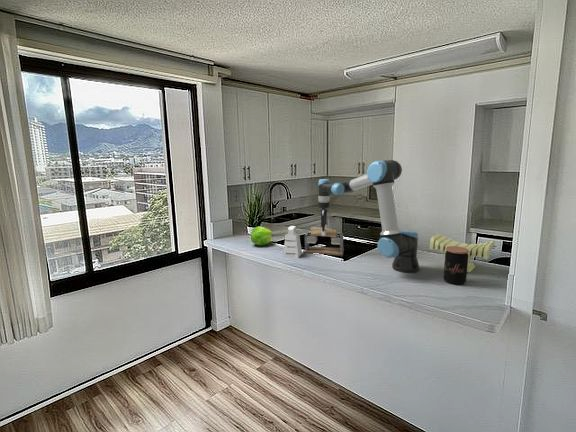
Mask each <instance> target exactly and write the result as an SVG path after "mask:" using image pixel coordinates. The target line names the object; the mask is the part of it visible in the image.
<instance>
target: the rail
mask: <svg viewBox="0 0 576 432" xmlns="http://www.w3.org/2000/svg"><path fill="white" fill-rule="evenodd" d="M310 234H311V235H314V236H317V237H322V236H321V227H316V226H311V227H310ZM337 235H338V228H333V227H332V228H331V227H326V234H325V236H324V237H327V238H328V237H329V238H331V237H336V236H337Z"/></svg>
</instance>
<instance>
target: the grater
mask: <svg viewBox="0 0 576 432" xmlns="http://www.w3.org/2000/svg"><path fill="white" fill-rule="evenodd" d="M302 254H303V251H302V244H301V237H300V232H299V231H297V226H296V225H290V226H288V228H287V232H286V233H285V236H284V245H283V255H282V258H288V257H289V259H290V258H291V259H292V258H293V259H299V258H300V256H301V255H302Z"/></svg>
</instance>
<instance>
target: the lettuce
mask: <svg viewBox="0 0 576 432" xmlns="http://www.w3.org/2000/svg"><path fill="white" fill-rule="evenodd" d="M272 236H273V232H272V230H270V229H269V228H268V227H264V226H261V225H260V226H259V225H258V226H256V227H254V228H253V229H252V231H251V233H250V241H251V243H253V244H254V245H257V246H266V245H267V244H269V243H271V240H272Z"/></svg>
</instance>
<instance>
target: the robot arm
mask: <svg viewBox="0 0 576 432" xmlns="http://www.w3.org/2000/svg"><path fill="white" fill-rule="evenodd" d="M402 172H403V167H402V165H401V163H399V161H396V160H394V159H393V160H392V159H389V160H385V159H383V160H382V159H380V160H375V161H373V162H372V163H370V164H369V166H368V168H367V171H366V174H363V175H361V176H357V177H356V178H353V179H350V180H346V181H341V182H331V180H330V179H329V178H322V179H319V180H318V185H317V186H318V195H317V197H318V208H320V227H319V228H321V236H320V237H326V236H325V234H326V228H327V225H328V220H327V218H328V208H330V199H331V196H330V195H335V196H340V195H342V194H343V195H344V194H350V193H354V192H356V191H357V190H358V191H359V190H360V189H363V188H364V189H365V188H367V187H370V186H373V188H374V189H375V190H376V195H377V196H376V198H377V203H378V210H379V216H380V217H379V218H380V223H381V232H380V233H379V235H380V236H379V237H380V238H379V240H378V241H377V250H378V251H379V253H380V254H381V255H382V256H383V257H384V258H389V259H391V258H394V259H393V261H392V264H391V268H392V269H393V270H394V271H396V272H400V273H407V274H410V273H411V274H412V273H417V272H419V271H420V263H419V260H418V257H417V256H418V243H419V242H418V241H419V234H418V232H417V231H413V230H407V229H399V224H398V218H397V213H396V206H395V205H396V203H395V197H394V190H393V186H394V184H395V180H398V178H400V176H401V175H402Z"/></svg>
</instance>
